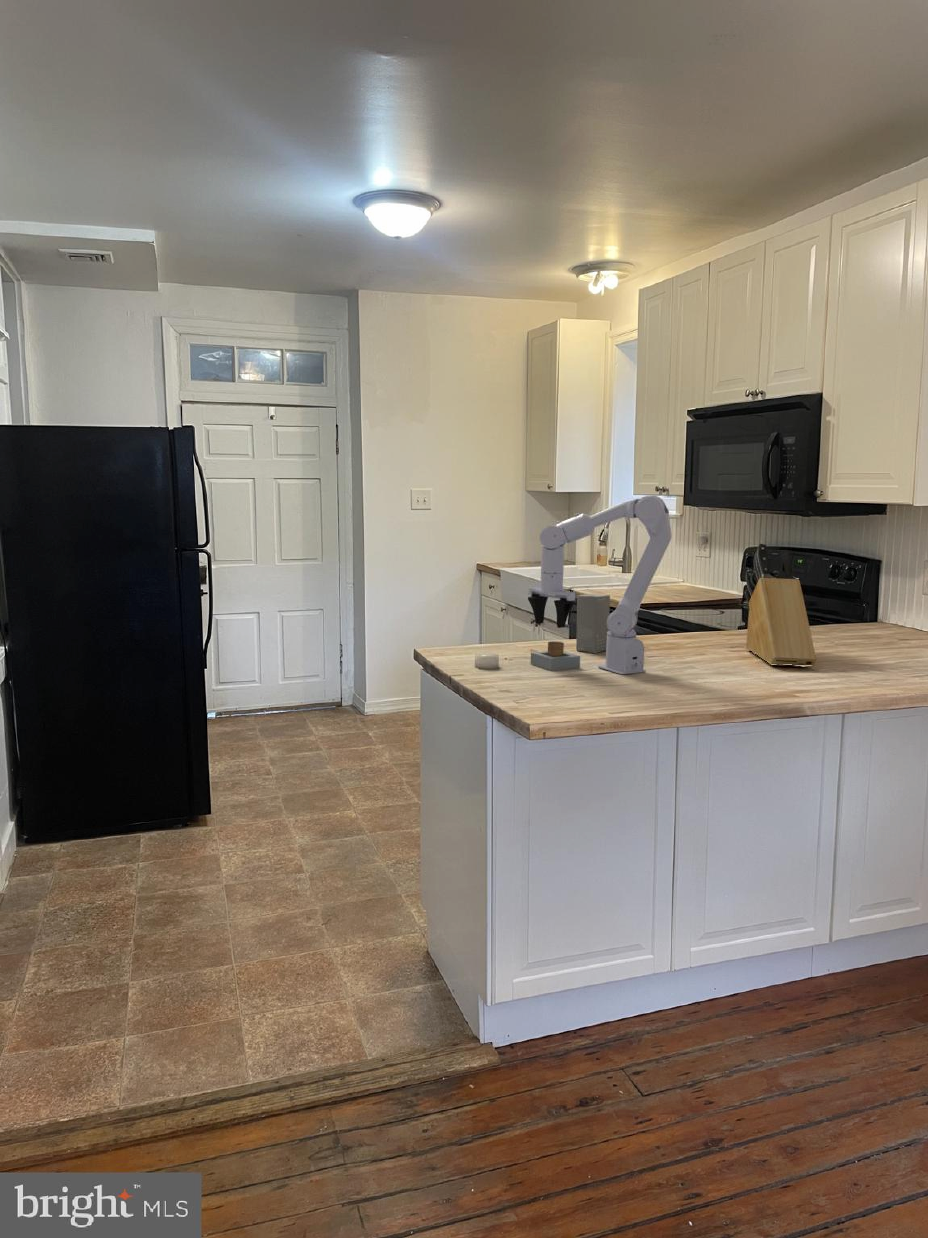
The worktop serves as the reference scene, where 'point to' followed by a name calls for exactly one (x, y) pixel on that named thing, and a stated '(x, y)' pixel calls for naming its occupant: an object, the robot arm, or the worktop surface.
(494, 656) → the ivory rounded cylinder
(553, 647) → the walnut dowel
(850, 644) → the worktop surface
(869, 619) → the worktop surface
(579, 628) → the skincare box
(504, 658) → the worktop surface
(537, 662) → the socket board
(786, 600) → the knife block
